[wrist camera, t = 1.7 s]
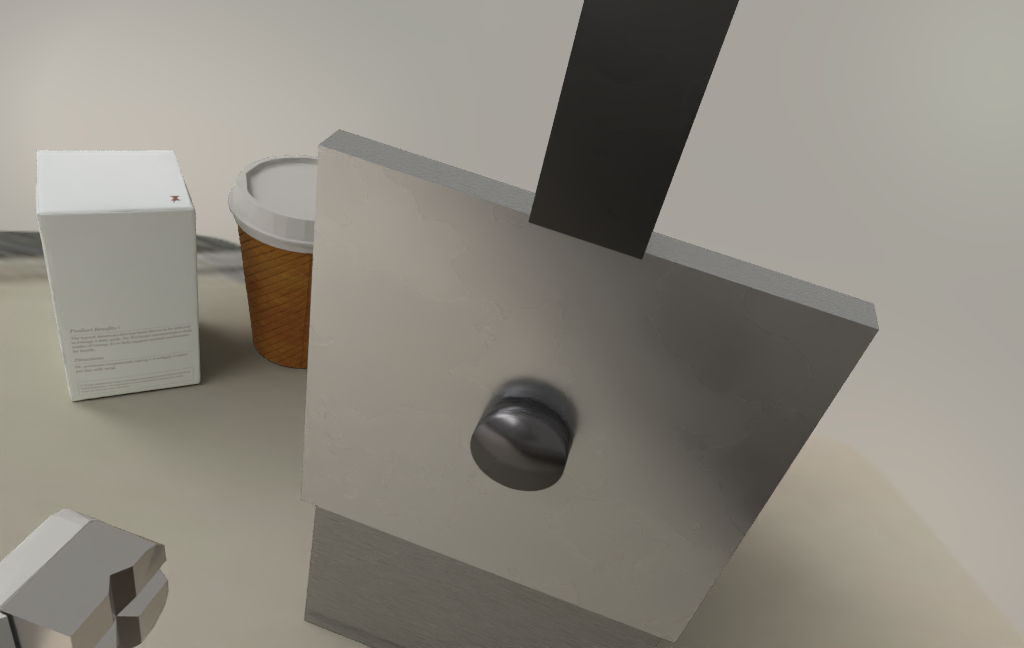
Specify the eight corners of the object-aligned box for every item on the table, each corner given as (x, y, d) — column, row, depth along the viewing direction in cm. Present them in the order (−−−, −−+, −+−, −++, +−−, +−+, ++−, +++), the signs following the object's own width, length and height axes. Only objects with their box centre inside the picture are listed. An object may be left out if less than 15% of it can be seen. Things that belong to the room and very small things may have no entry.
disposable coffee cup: (269, 287, 57) (275, 138, 50) (388, 324, 56) (410, 179, 49) (199, 358, 49) (195, 193, 42) (336, 402, 48) (354, 242, 42)
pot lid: (316, 478, 30) (287, 519, 28) (363, -219, 16) (312, -222, 14) (677, 615, 28) (672, 667, 27) (1078, -23, 14) (1120, 2, 13)
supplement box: (185, 317, 52) (179, 147, 45) (202, 387, 47) (198, 208, 40) (62, 328, 48) (34, 145, 41) (65, 404, 43) (34, 212, 36)
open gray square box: (304, 620, 36) (319, 477, 30) (418, 425, 48) (444, 299, 43) (602, 739, 34) (676, 613, 29) (641, 507, 47) (699, 387, 41)
